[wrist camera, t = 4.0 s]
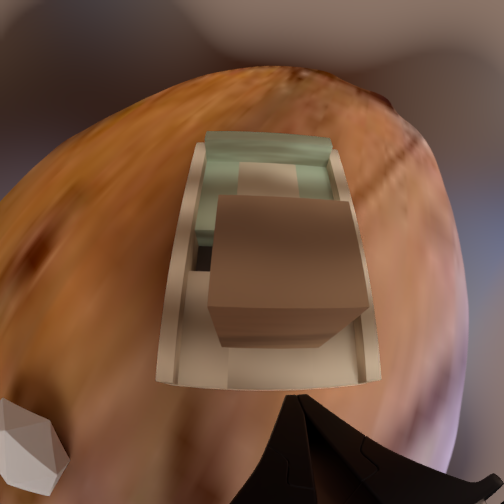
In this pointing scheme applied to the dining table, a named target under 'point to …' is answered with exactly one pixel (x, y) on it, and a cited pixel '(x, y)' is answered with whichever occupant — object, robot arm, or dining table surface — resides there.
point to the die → (29, 450)
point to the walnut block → (284, 271)
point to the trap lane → (199, 263)
